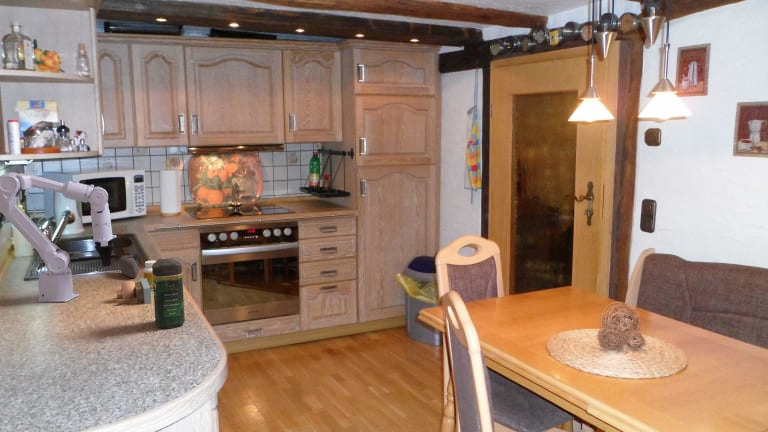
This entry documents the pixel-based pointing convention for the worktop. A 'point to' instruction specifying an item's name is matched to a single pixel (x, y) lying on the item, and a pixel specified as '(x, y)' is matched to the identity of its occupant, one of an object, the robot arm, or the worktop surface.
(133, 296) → the pink egg shape
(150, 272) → the supplement bottle
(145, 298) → the backstop board
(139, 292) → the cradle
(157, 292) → the coffee jar
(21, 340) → the worktop surface
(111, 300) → the worktop surface
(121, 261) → the perforated stone tool
